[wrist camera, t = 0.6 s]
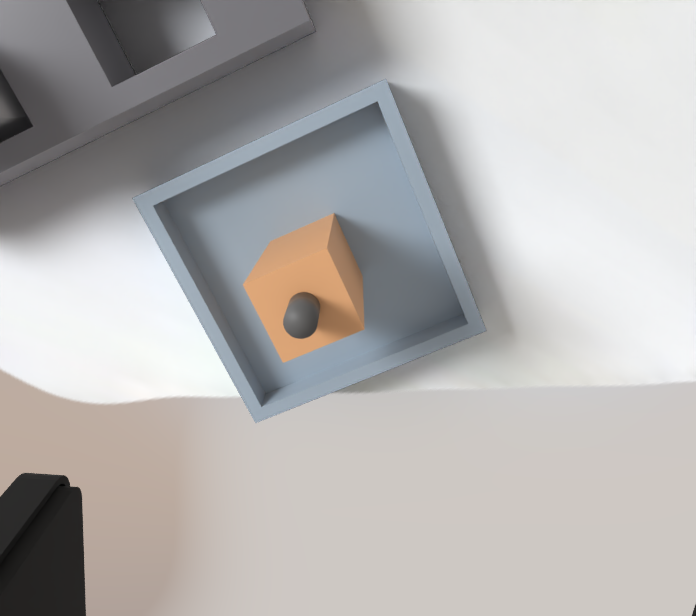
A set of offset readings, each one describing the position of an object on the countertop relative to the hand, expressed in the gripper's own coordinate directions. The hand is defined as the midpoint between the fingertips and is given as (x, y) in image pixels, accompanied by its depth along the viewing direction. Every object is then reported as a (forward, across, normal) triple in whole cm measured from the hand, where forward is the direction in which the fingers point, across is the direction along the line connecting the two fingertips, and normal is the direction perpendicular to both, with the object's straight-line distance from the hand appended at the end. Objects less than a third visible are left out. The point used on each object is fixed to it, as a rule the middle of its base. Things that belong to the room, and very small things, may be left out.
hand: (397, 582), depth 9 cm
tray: (+28, +2, +1) cm, 28 cm away
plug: (+27, +2, +1) cm, 27 cm away
